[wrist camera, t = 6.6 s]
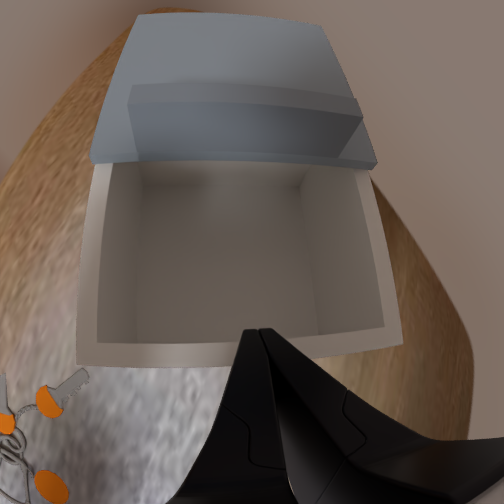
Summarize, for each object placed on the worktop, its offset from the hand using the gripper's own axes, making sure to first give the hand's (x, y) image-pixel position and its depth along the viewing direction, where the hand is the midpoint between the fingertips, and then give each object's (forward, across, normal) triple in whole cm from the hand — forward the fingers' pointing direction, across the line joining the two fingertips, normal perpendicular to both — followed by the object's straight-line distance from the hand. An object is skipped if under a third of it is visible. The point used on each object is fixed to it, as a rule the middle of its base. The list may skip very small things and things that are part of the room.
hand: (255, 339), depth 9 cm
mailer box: (+10, 0, +3) cm, 11 cm away
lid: (+10, 0, -9) cm, 13 cm away
